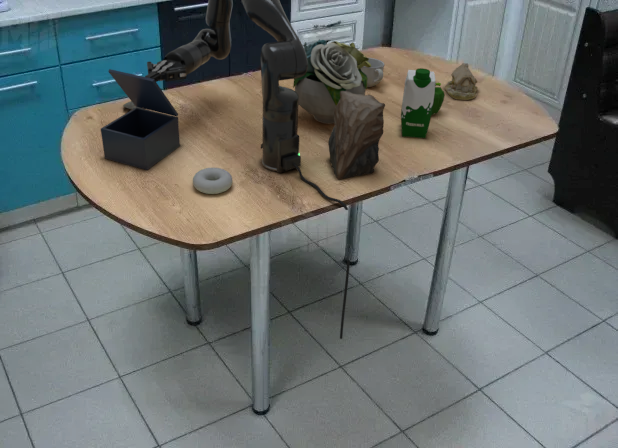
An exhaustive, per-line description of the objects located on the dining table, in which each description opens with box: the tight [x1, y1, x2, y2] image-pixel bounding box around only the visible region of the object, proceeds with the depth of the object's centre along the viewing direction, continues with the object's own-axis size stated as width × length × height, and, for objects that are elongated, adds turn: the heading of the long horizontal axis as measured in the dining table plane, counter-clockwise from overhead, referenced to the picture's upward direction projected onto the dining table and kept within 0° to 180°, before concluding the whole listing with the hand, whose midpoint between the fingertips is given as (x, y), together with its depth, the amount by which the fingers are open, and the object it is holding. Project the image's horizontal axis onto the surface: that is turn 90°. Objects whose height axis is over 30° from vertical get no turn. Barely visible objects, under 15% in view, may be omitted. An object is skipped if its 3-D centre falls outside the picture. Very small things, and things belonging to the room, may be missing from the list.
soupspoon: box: [122, 100, 140, 110], centre depth 200 cm, size 22×3×7 cm
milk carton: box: [400, 67, 437, 139], centre depth 195 cm, size 9×9×20 cm
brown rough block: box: [327, 91, 386, 181], centre depth 176 cm, size 13×13×20 cm
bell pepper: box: [431, 82, 446, 116], centre depth 210 cm, size 8×8×10 cm
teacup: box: [361, 57, 385, 88], centre depth 227 cm, size 14×11×8 cm
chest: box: [100, 107, 181, 171], centre depth 181 cm, size 16×14×9 cm
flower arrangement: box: [292, 39, 371, 125], centre depth 199 cm, size 25×25×24 cm
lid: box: [107, 68, 179, 117], centre depth 177 cm, size 16×14×1 cm
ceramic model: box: [444, 62, 478, 101], centre depth 225 cm, size 14×11×10 cm
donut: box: [192, 167, 233, 195], centre depth 169 cm, size 10×3×10 cm
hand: (147, 80), depth 177 cm, fingers closed
